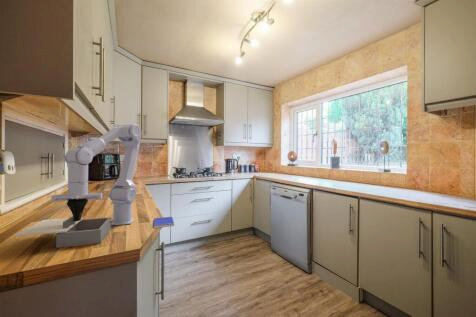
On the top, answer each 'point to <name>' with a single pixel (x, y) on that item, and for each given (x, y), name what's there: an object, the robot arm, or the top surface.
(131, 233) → the top surface
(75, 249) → the top surface
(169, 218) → the hard drive
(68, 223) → the mailer lid
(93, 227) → the box
